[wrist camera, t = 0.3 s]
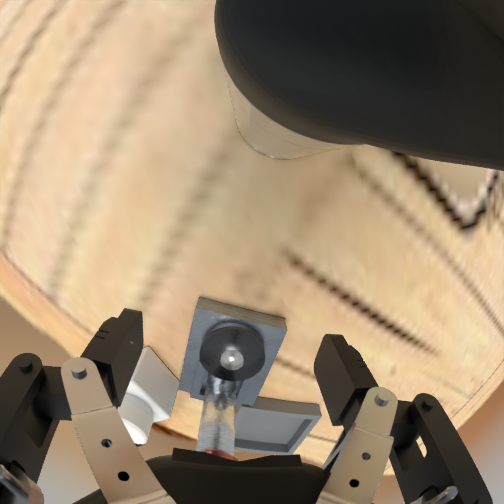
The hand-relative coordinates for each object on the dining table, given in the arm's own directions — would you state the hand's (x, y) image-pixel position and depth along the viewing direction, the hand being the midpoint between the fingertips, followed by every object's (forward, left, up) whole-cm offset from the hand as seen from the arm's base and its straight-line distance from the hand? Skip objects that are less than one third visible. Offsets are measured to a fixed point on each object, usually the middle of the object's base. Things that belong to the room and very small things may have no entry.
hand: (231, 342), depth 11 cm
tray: (+27, +12, -18) cm, 35 cm away
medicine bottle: (+22, -8, -18) cm, 29 cm away
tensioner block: (+14, +2, -18) cm, 23 cm away
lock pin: (+17, +2, -15) cm, 23 cm away
